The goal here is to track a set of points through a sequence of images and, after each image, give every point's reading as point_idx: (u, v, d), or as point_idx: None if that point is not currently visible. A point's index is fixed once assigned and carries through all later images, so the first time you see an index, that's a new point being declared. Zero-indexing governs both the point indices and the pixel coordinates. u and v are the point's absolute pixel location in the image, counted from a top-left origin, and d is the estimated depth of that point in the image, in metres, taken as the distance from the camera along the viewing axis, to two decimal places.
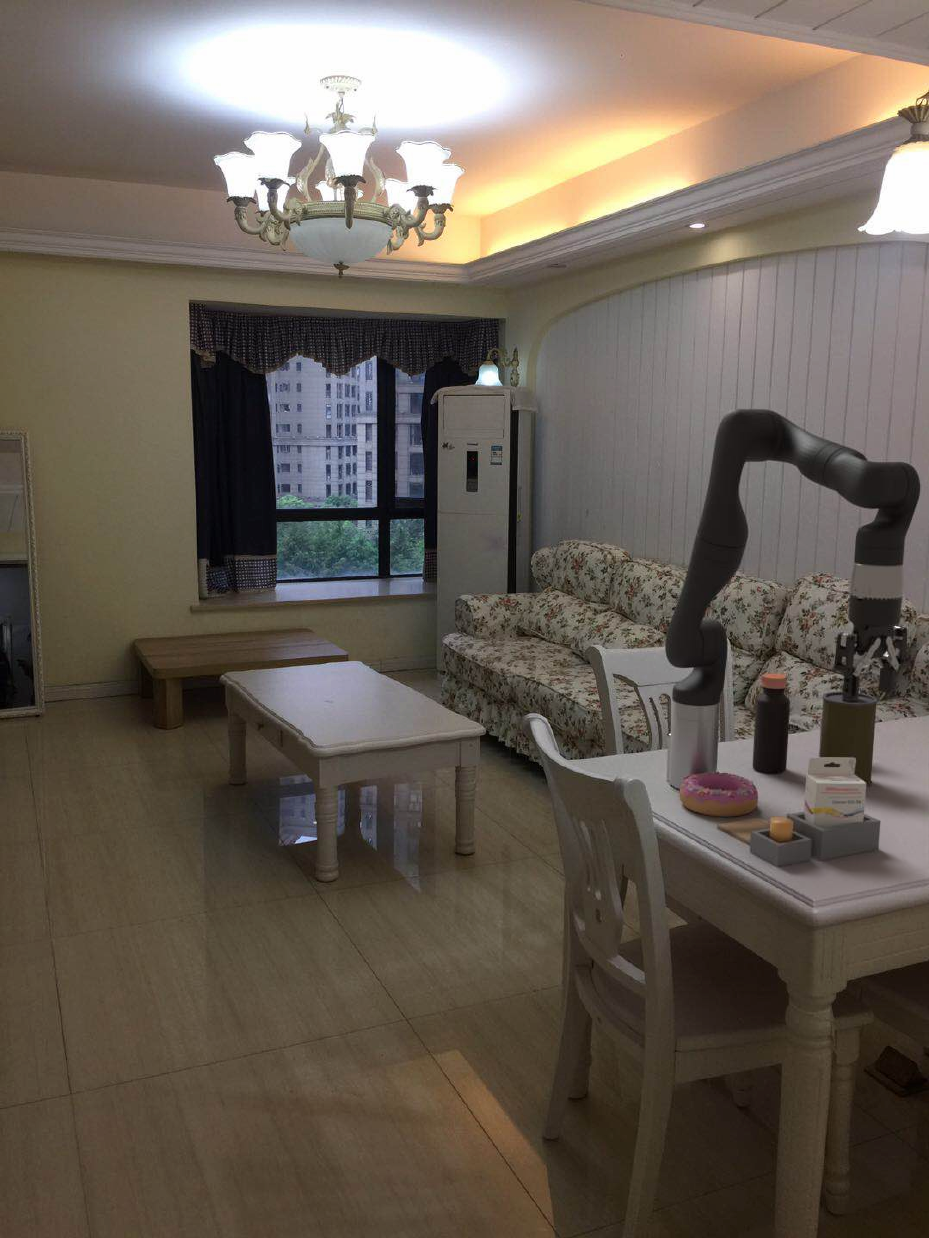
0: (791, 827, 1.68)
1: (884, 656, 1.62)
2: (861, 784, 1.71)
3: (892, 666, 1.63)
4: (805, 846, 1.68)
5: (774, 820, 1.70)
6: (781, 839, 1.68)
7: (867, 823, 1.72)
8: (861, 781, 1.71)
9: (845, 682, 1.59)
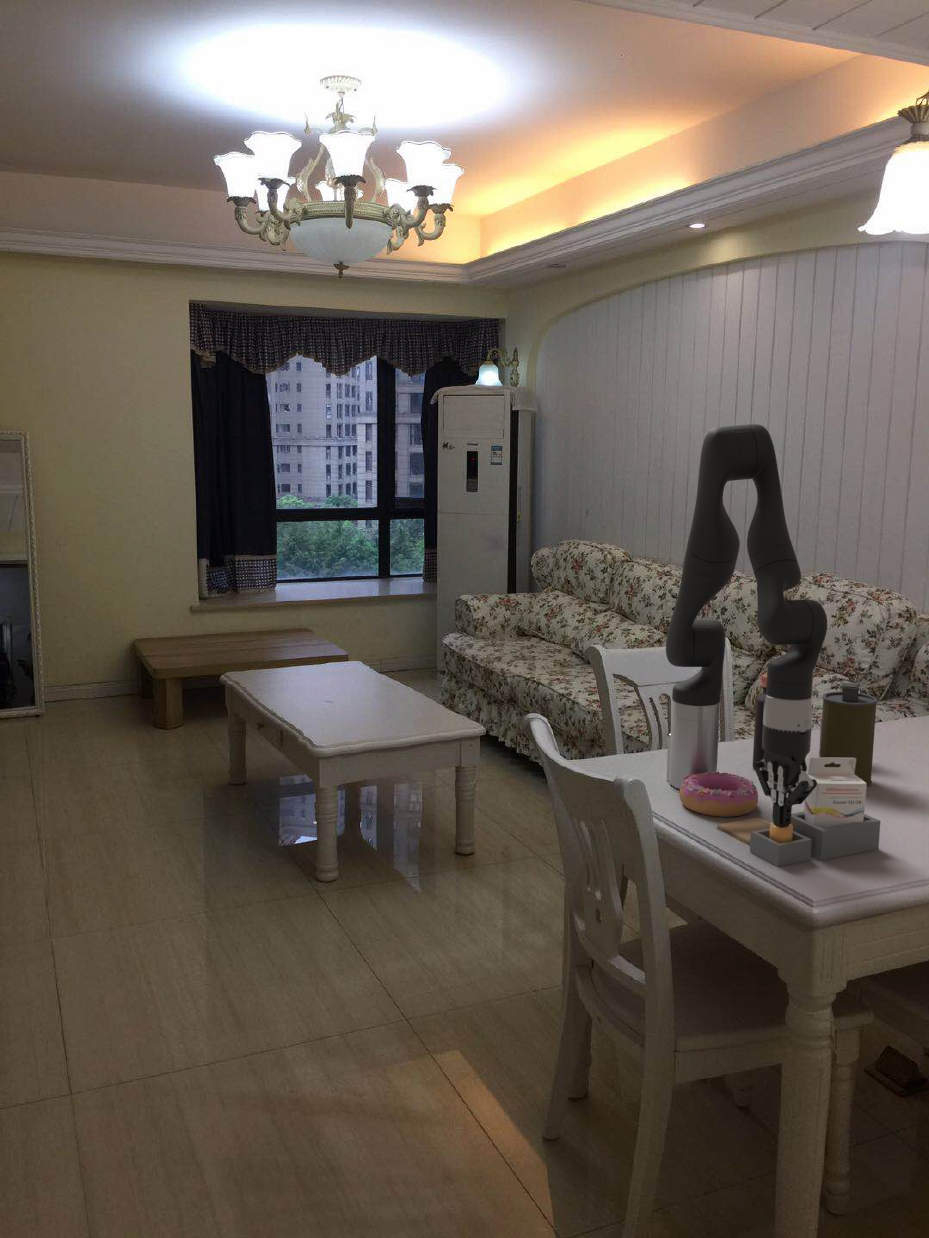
0: (791, 831, 1.68)
1: None
2: (861, 784, 1.71)
3: (786, 796, 1.69)
4: (805, 846, 1.68)
5: None
6: None
7: (867, 823, 1.72)
8: (861, 781, 1.71)
9: (786, 813, 1.68)
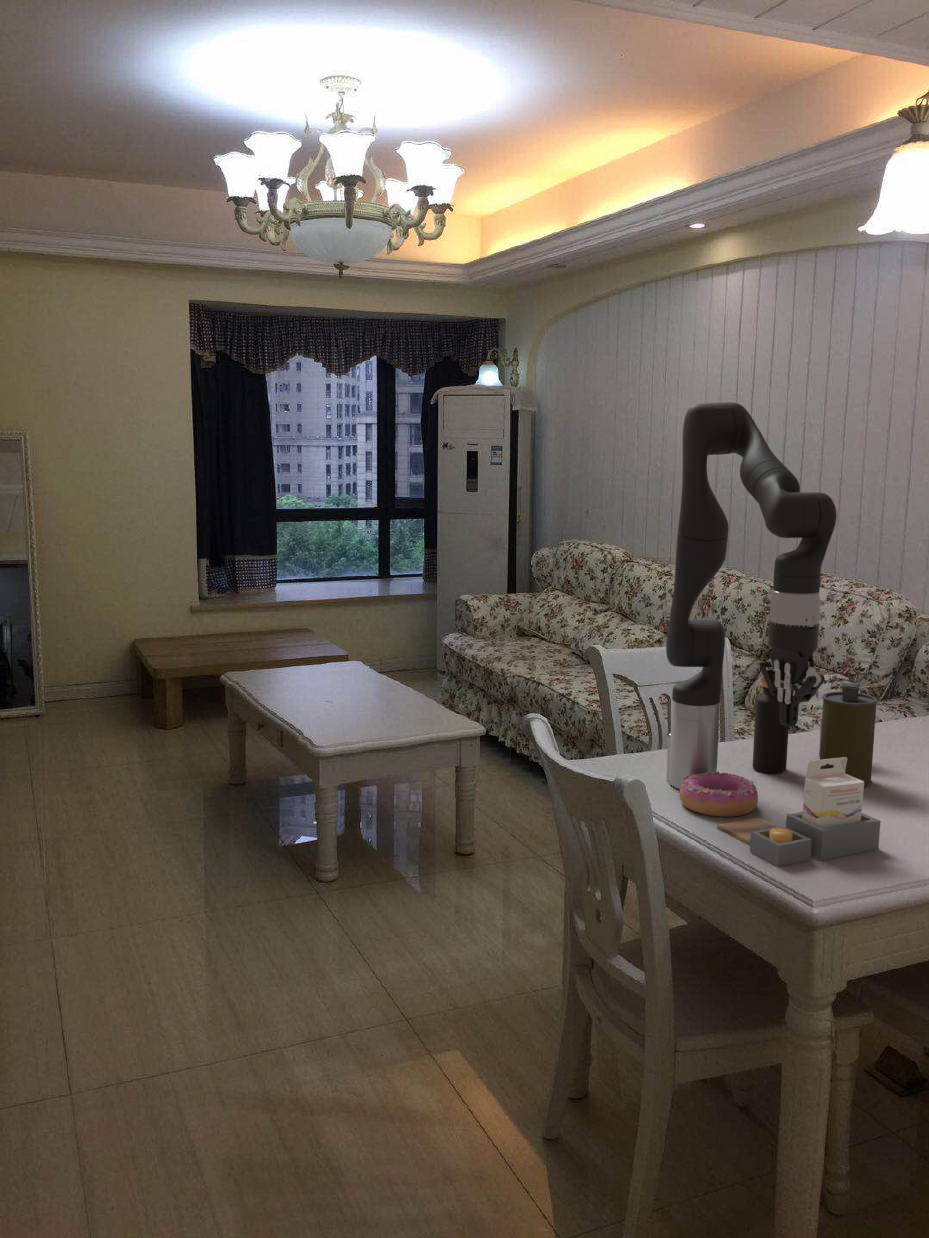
0: (790, 838, 1.69)
1: None
2: (860, 783, 1.72)
3: (793, 695, 1.67)
4: (805, 846, 1.68)
5: (773, 831, 1.70)
6: None
7: (867, 823, 1.72)
8: (858, 780, 1.73)
9: (793, 711, 1.65)
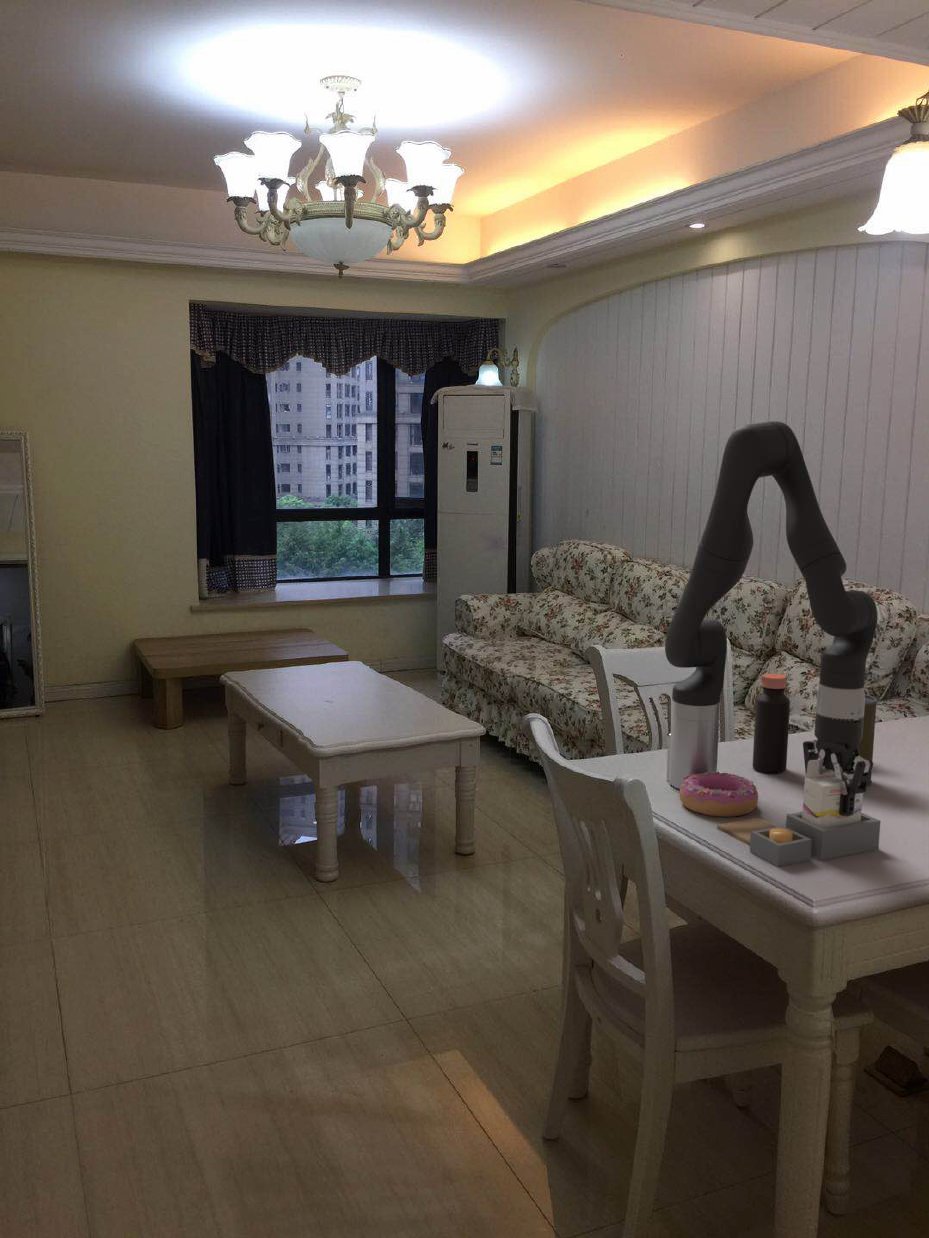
0: (790, 838, 1.69)
1: None
2: None
3: None
4: (805, 846, 1.68)
5: (773, 831, 1.70)
6: None
7: (867, 823, 1.72)
8: None
9: (849, 802, 1.70)
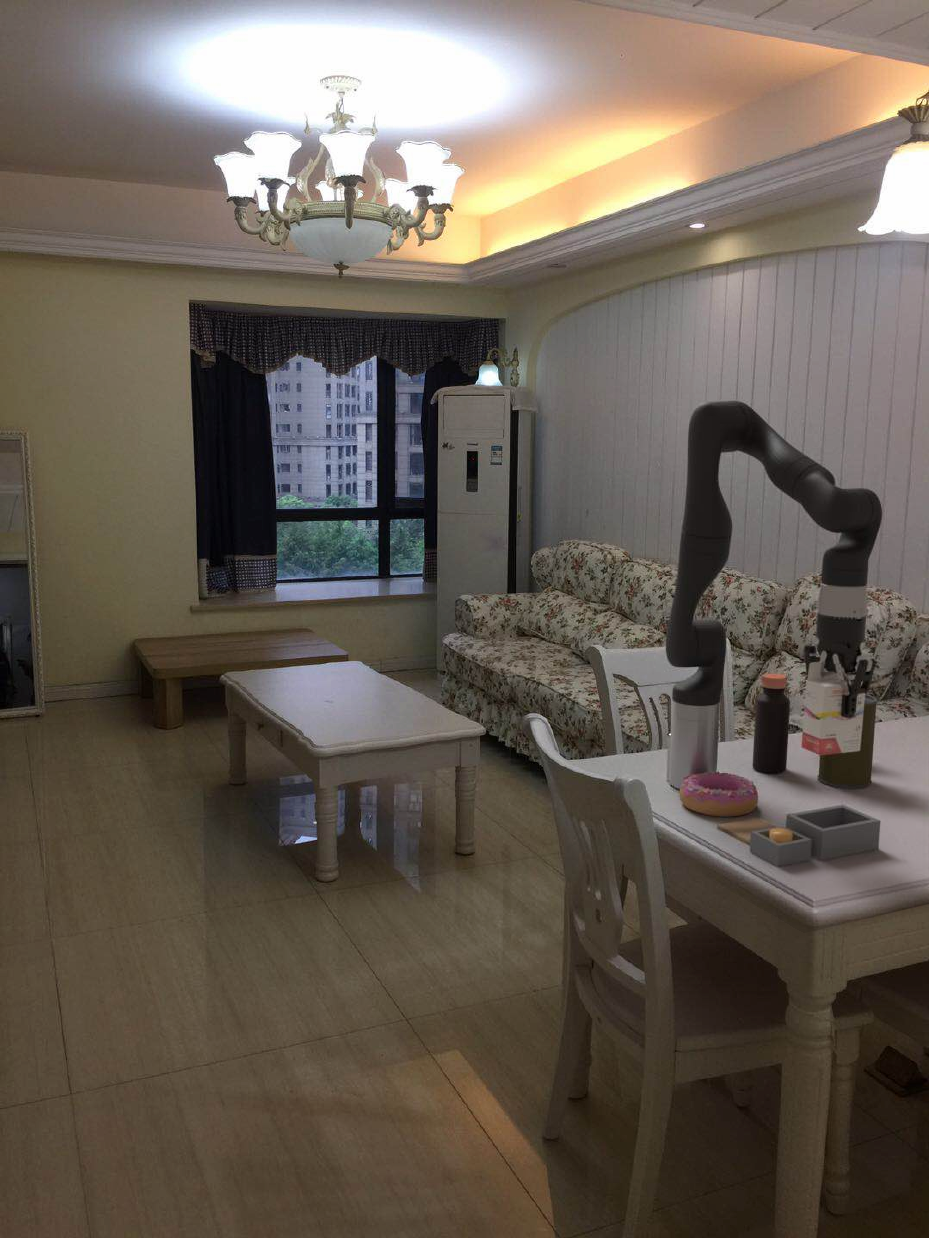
0: (790, 838, 1.69)
1: (830, 672, 1.72)
2: None
3: None
4: (805, 846, 1.68)
5: (773, 831, 1.70)
6: None
7: (867, 823, 1.72)
8: None
9: (851, 702, 1.68)
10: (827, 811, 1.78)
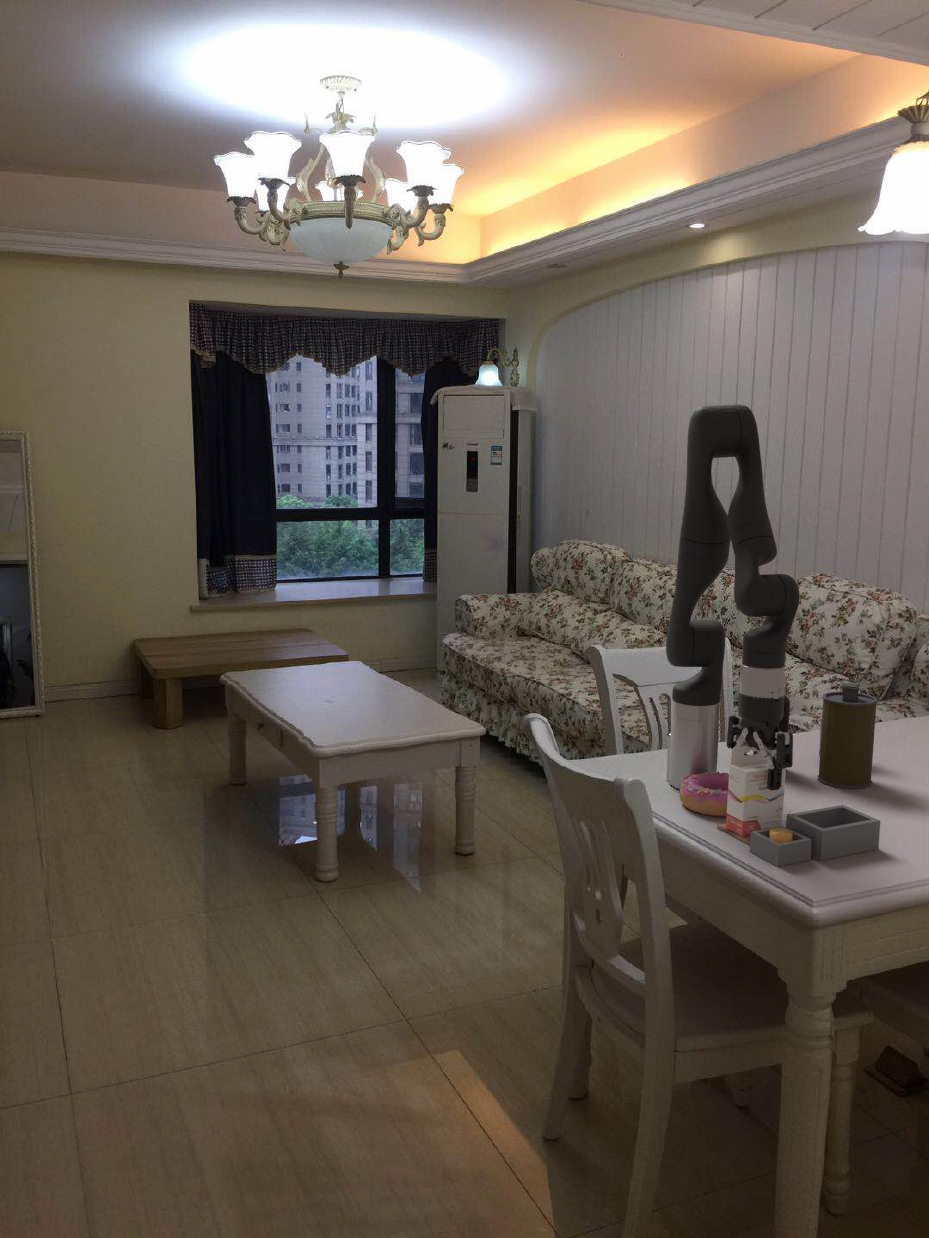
0: (790, 838, 1.69)
1: None
2: None
3: None
4: (805, 846, 1.68)
5: (773, 831, 1.70)
6: None
7: (867, 823, 1.72)
8: None
9: (776, 776, 1.74)
10: (827, 811, 1.78)
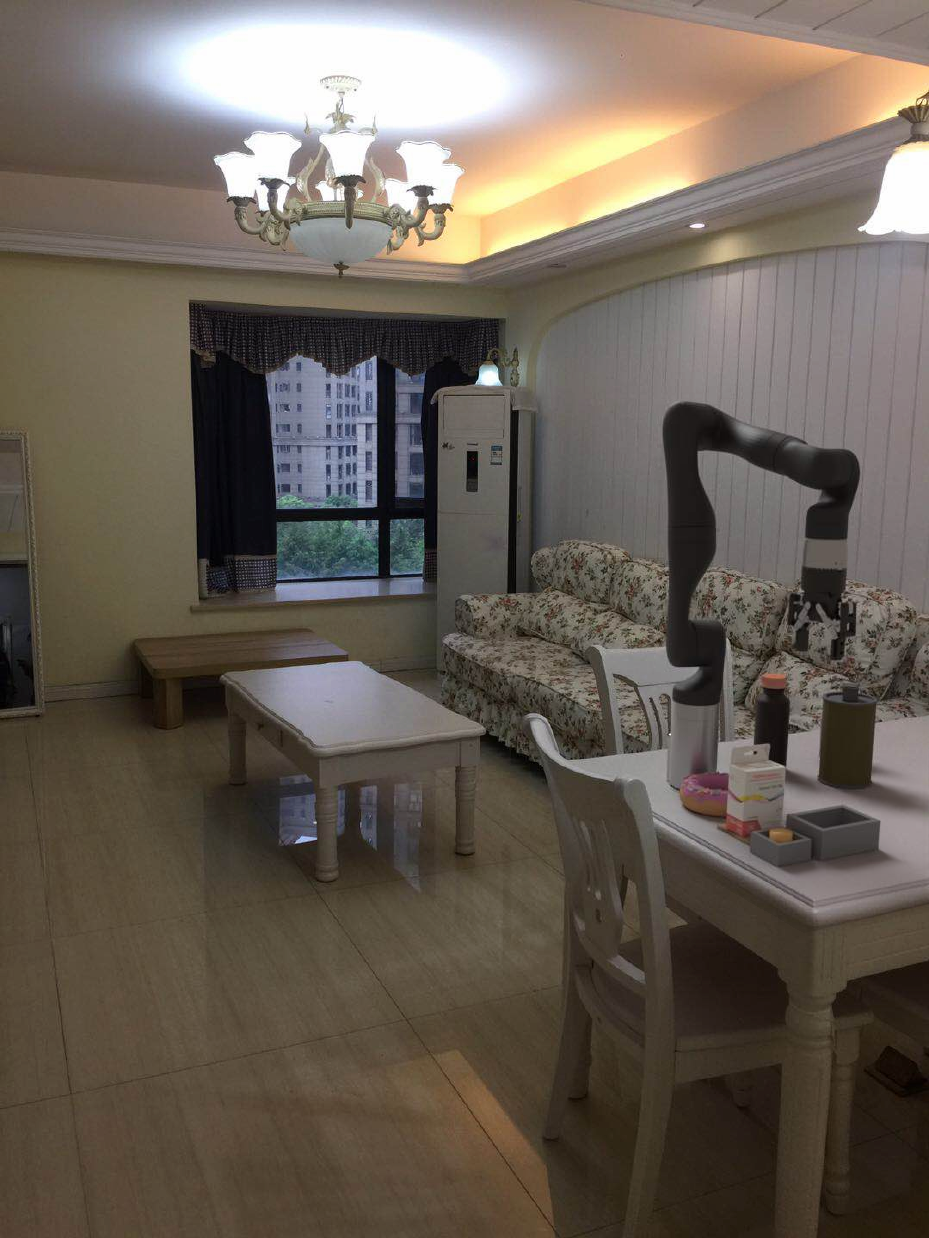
0: (790, 838, 1.69)
1: None
2: (782, 768, 1.77)
3: (808, 627, 1.87)
4: (805, 846, 1.68)
5: (773, 831, 1.70)
6: None
7: (867, 823, 1.72)
8: (780, 765, 1.78)
9: (840, 646, 1.78)
10: (827, 811, 1.78)
